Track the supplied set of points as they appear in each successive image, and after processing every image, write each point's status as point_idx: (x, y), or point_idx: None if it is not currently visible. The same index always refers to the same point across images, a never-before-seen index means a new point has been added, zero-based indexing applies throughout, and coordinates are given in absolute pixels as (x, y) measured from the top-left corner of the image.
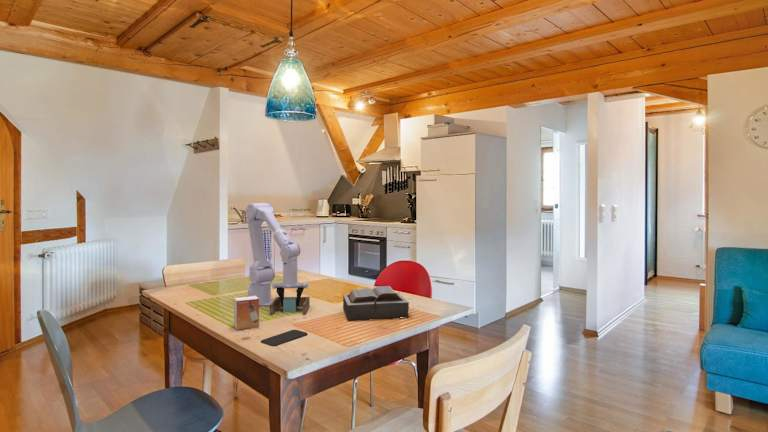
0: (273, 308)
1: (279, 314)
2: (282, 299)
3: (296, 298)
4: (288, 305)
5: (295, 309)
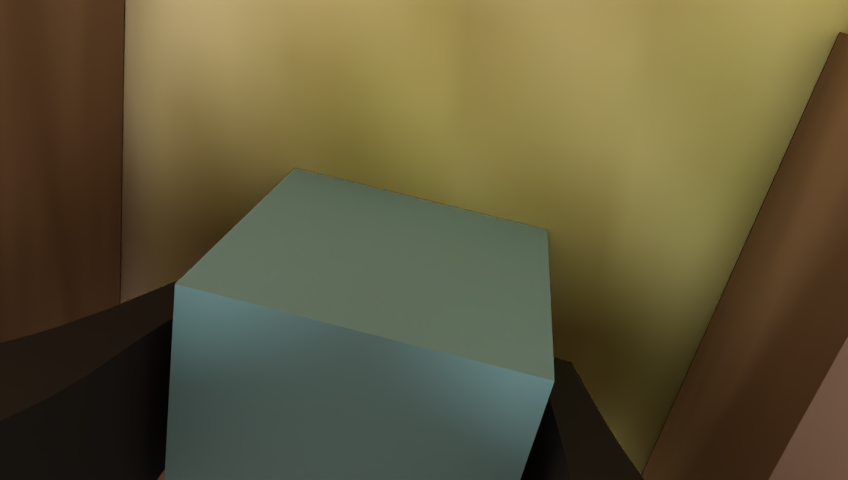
0: (817, 216)
1: (655, 46)
2: (568, 444)
3: (168, 435)
4: (417, 260)
5: (280, 187)
